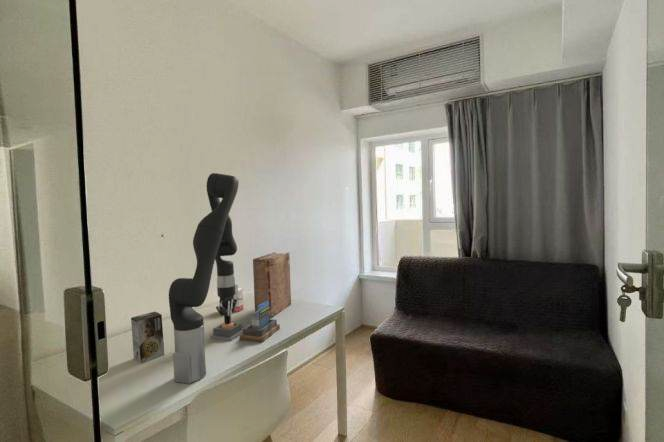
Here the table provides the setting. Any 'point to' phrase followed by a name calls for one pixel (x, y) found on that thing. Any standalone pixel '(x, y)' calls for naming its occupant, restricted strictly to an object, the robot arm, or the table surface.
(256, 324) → the label tape box
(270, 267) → the book
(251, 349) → the table surface
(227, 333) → the button panel
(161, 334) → the coffee box
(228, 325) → the button
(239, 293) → the ink cartridge box
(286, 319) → the table surface
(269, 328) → the tray
